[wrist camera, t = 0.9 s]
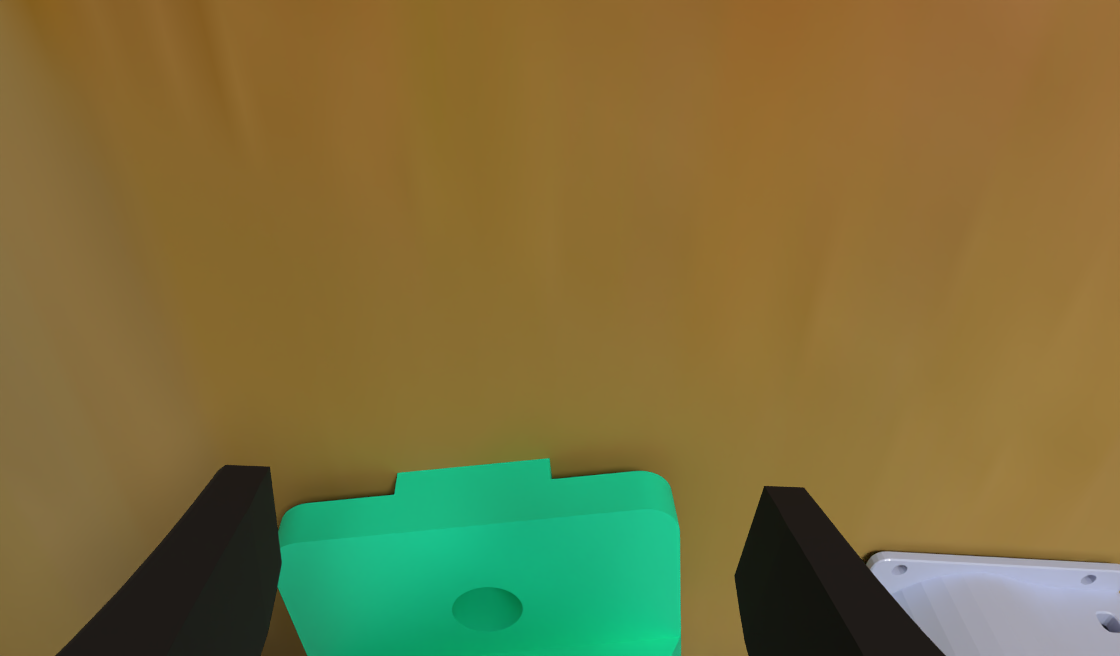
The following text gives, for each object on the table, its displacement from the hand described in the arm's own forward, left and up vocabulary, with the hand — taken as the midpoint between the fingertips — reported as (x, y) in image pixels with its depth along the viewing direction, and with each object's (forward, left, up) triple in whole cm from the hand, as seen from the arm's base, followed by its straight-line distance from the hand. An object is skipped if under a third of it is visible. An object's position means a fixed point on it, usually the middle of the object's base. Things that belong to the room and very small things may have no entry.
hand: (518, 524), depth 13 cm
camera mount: (0, +13, -11) cm, 17 cm away
